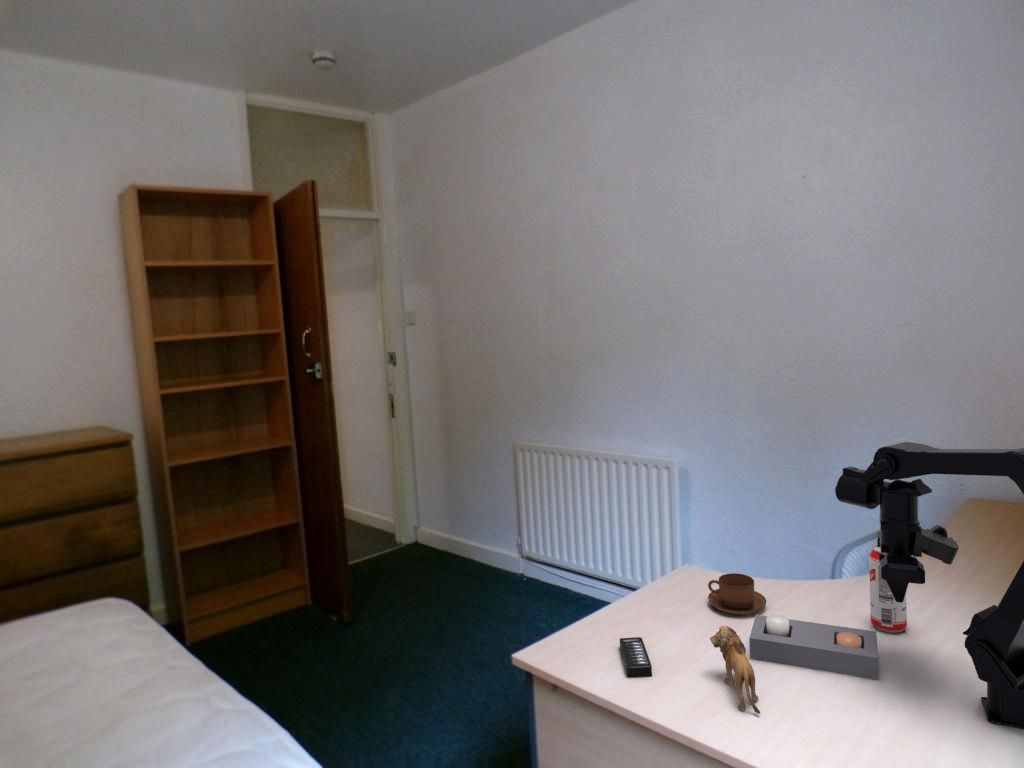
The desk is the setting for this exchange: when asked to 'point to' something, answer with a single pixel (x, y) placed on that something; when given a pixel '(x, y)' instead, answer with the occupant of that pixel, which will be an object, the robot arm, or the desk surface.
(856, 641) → the terracotta plug
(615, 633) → the desk surface
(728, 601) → the cup and saucer
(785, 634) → the grey piece
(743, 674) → the lion figurine
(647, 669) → the multiport hub
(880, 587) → the beer can
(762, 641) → the plug block
